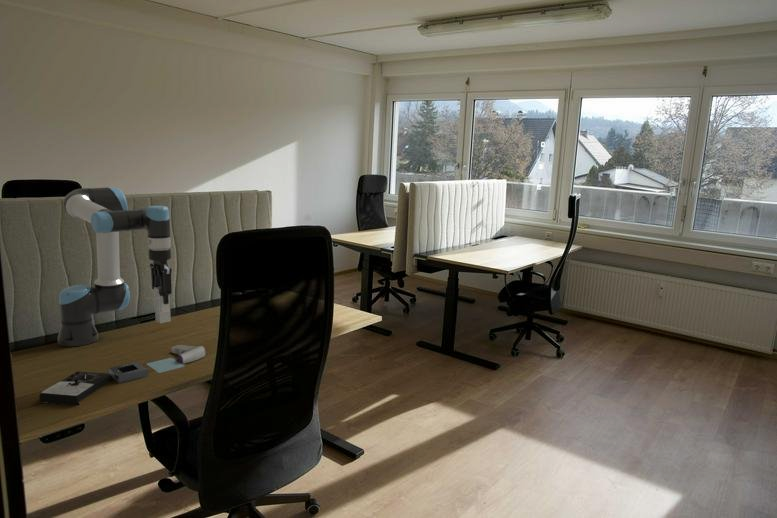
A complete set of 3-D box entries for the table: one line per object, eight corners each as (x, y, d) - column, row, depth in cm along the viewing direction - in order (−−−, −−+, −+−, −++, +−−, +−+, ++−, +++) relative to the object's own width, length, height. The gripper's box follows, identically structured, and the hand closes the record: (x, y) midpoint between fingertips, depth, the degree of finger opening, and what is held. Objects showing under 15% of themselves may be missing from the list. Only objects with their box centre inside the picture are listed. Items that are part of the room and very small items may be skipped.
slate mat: (145, 366, 213) (145, 363, 213) (171, 359, 220) (171, 357, 220) (159, 375, 205) (159, 373, 205) (185, 368, 212) (185, 366, 212)
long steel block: (155, 320, 209) (153, 287, 207) (166, 318, 212) (164, 285, 210) (160, 323, 206) (158, 289, 204) (170, 321, 209) (169, 287, 207)
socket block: (109, 377, 202) (108, 368, 202) (137, 370, 209) (136, 361, 209) (119, 385, 195) (118, 376, 195) (148, 378, 202) (147, 369, 202)
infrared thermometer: (180, 352, 232) (207, 356, 225) (156, 361, 221) (184, 366, 215) (179, 341, 231) (206, 345, 225) (155, 350, 221) (183, 355, 214)
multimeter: (112, 383, 199) (111, 369, 198) (77, 407, 180) (76, 392, 179) (78, 380, 200) (77, 367, 199) (39, 404, 181) (38, 389, 180)
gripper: (139, 246, 207) (143, 307, 212) (159, 253, 196) (162, 317, 200) (160, 244, 213) (162, 304, 217) (180, 251, 201) (182, 313, 205)
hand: (162, 310), depth 208 cm, fingers closed on long steel block, 4 cm apart
